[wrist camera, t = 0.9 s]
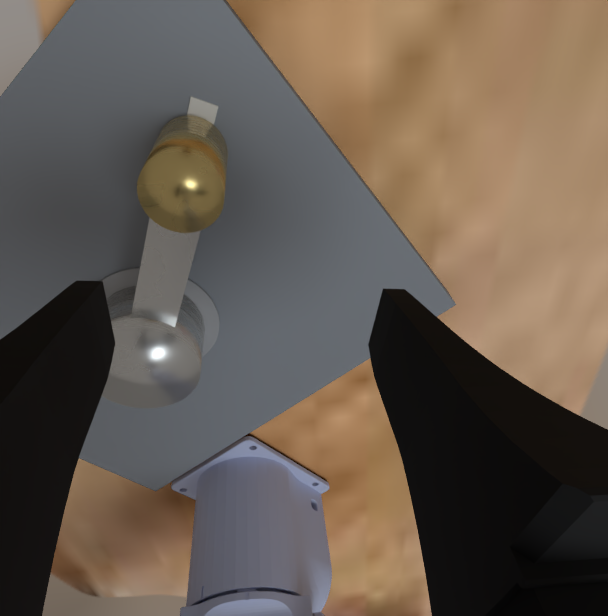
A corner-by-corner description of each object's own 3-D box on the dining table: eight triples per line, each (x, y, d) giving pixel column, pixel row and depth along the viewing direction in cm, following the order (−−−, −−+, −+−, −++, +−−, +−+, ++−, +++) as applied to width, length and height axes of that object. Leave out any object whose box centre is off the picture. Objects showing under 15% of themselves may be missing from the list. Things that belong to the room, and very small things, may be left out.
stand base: (447, 291, 24) (457, 306, 23) (158, 475, 32) (155, 493, 31) (156, -91, 14) (149, -96, 12) (-173, 324, 21) (-195, 344, 20)
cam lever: (192, 370, 24) (185, 432, 20) (93, 353, 22) (68, 416, 19) (266, 140, 17) (272, 181, 14) (128, 92, 15) (99, 125, 12)
